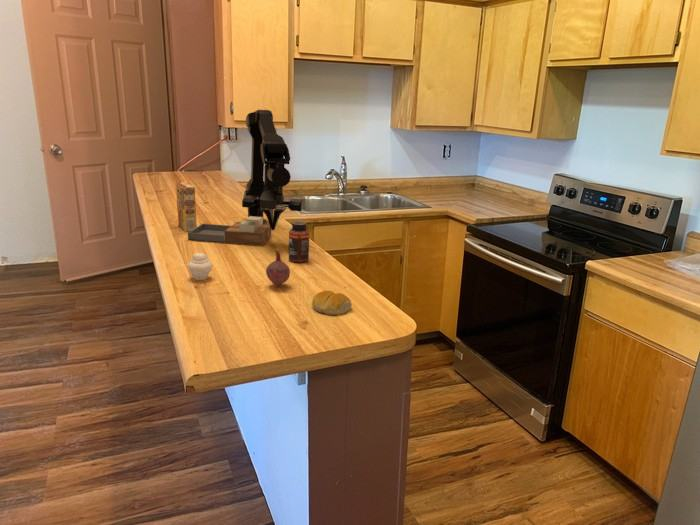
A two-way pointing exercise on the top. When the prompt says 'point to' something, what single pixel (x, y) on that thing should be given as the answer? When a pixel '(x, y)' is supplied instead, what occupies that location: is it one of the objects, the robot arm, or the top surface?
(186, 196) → the candy box
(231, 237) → the walnut board
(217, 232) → the tray
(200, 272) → the white lidded jar
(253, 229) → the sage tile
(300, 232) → the supplement bottle
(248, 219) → the cream tile
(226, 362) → the top surface
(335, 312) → the bread roll
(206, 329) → the top surface
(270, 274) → the vegetable
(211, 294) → the top surface
